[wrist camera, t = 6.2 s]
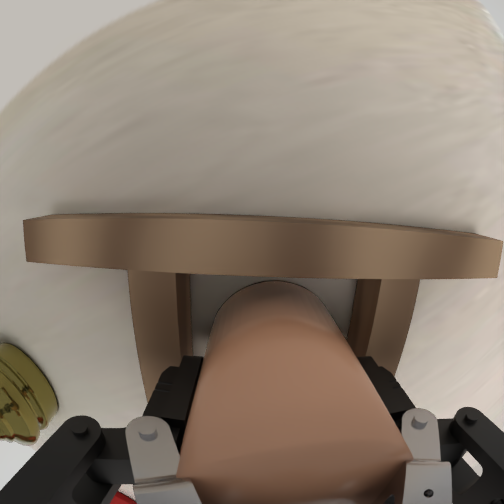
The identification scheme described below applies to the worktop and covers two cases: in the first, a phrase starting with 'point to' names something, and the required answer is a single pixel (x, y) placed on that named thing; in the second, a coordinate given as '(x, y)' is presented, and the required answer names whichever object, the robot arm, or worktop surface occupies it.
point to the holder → (259, 268)
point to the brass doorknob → (23, 398)
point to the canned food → (122, 499)
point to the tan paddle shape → (286, 408)
